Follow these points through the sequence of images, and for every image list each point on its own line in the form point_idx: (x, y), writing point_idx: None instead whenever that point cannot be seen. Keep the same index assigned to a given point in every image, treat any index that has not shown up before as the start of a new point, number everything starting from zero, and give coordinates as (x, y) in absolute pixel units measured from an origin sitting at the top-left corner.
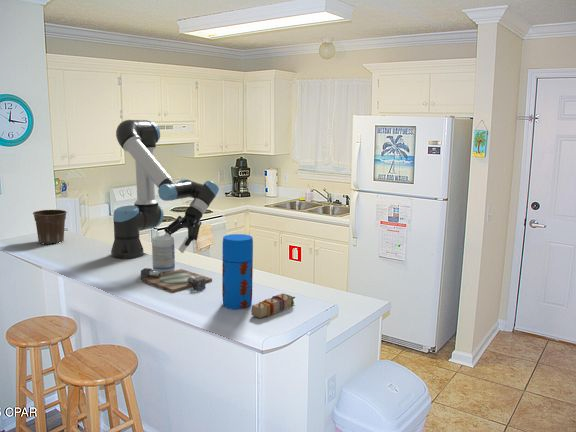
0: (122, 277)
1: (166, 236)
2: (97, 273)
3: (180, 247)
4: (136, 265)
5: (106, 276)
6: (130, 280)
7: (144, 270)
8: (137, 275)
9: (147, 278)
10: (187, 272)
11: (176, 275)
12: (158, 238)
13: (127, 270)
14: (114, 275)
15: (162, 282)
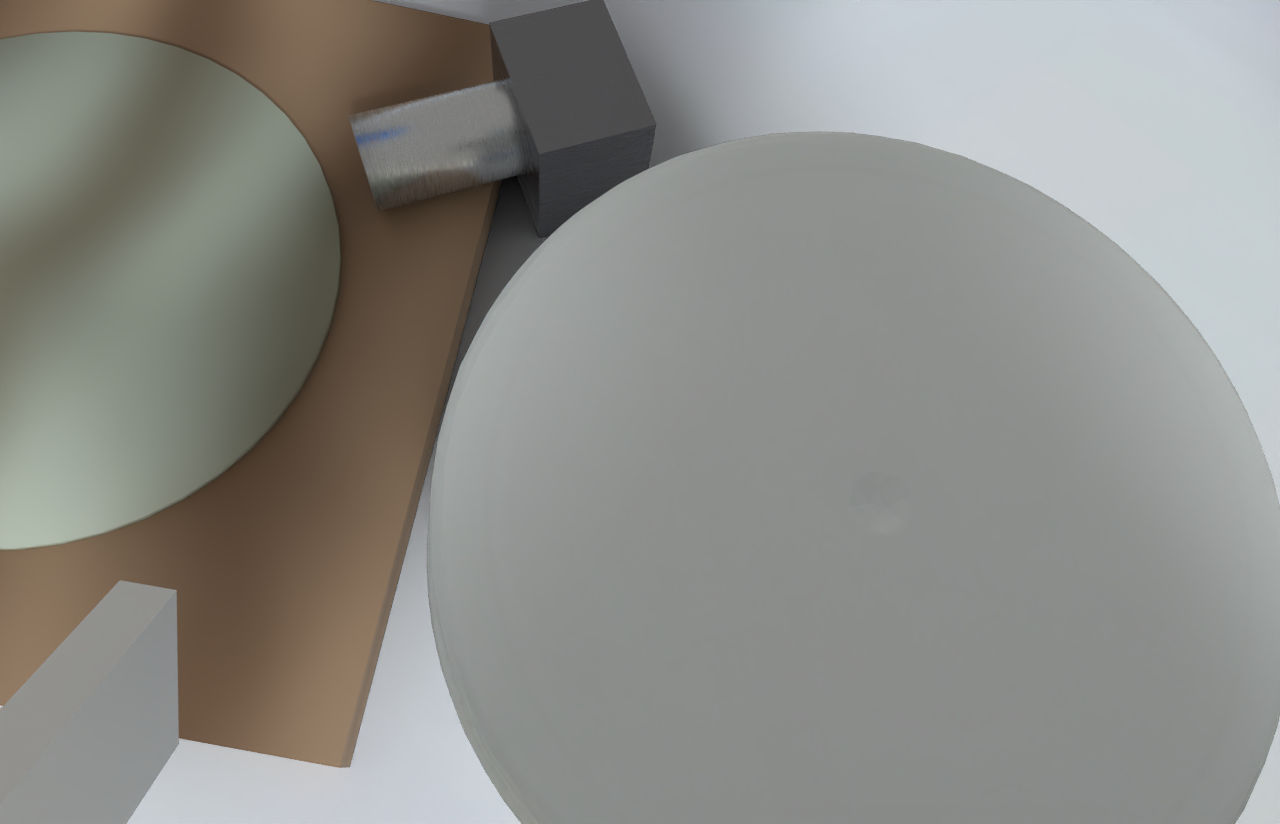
0: (886, 72)
1: (977, 807)
2: (1265, 48)
3: (88, 635)
4: None
5: (1073, 14)
6: (700, 32)
7: (563, 31)
8: None
9: (477, 74)
10: None
11: (138, 359)
12: (922, 320)
13: None
14: (1038, 84)
15: (156, 38)
